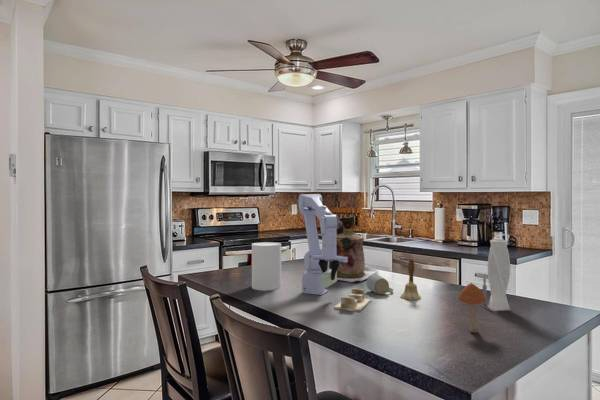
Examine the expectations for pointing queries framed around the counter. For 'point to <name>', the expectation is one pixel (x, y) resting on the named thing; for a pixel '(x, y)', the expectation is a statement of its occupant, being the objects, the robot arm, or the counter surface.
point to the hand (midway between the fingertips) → (329, 279)
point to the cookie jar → (350, 252)
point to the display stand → (353, 301)
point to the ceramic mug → (378, 284)
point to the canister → (266, 266)
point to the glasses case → (327, 279)
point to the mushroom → (472, 303)
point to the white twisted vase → (497, 275)
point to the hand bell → (411, 285)
